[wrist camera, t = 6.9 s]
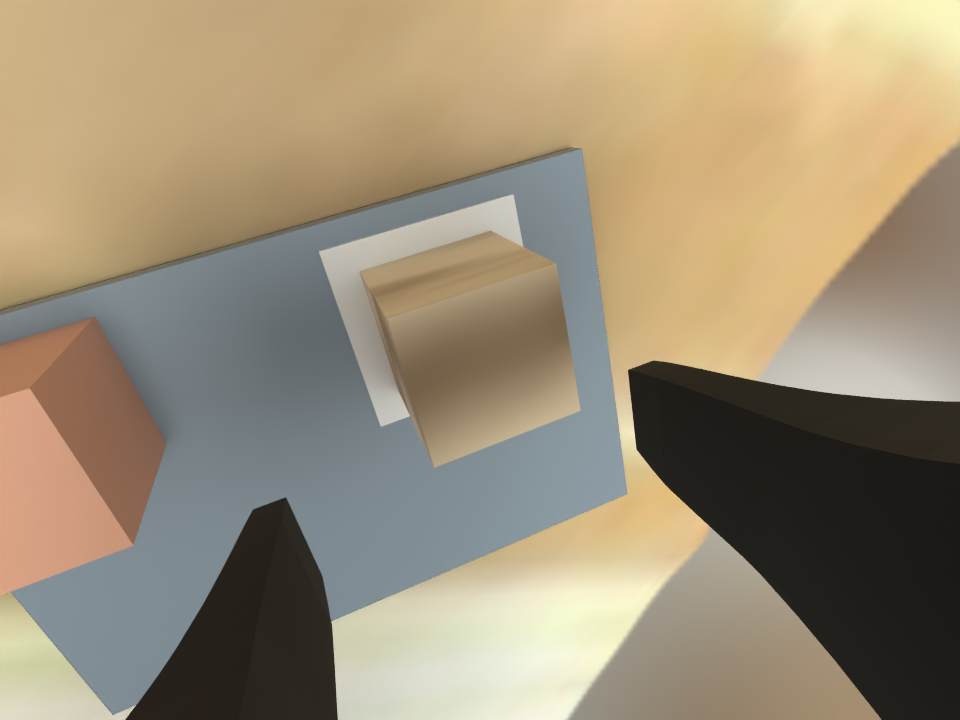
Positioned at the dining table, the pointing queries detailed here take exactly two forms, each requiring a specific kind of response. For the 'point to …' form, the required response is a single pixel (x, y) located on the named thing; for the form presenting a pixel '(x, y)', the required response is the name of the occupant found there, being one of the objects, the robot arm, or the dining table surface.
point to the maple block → (474, 342)
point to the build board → (320, 417)
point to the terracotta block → (69, 453)
